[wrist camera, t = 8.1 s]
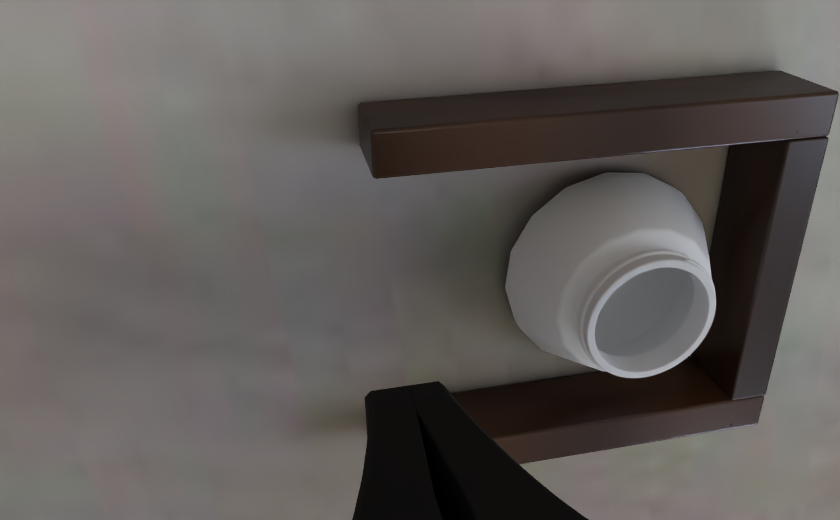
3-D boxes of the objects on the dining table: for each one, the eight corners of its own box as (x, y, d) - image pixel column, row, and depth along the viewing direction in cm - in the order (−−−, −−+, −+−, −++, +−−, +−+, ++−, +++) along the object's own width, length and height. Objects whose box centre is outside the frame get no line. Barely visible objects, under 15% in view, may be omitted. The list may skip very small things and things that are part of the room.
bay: (376, 433, 20) (389, 487, 18) (356, 101, 16) (370, 130, 14) (717, 381, 21) (758, 425, 20) (781, 69, 17) (841, 91, 16)
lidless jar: (619, 365, 20) (725, 211, 19) (672, 435, 18) (801, 264, 16) (465, 310, 19) (570, 133, 17) (501, 380, 16) (627, 180, 14)
